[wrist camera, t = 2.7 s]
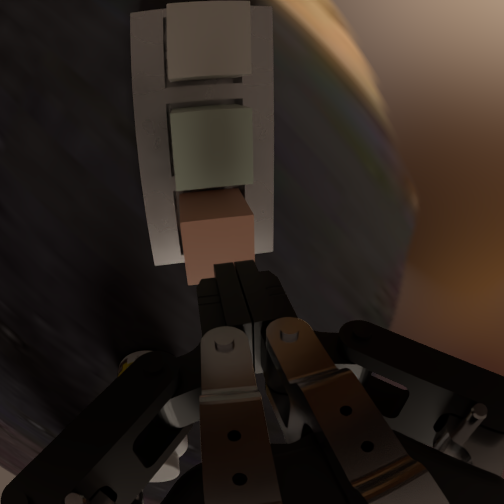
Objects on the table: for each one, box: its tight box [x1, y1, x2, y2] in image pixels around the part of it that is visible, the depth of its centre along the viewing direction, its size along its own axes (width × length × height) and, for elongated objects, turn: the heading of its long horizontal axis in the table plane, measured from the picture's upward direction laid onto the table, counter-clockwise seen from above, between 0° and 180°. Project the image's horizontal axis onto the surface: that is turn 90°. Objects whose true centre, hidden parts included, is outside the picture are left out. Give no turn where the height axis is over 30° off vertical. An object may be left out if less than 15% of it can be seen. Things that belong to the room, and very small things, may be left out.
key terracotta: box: [179, 188, 255, 285], centre depth 16 cm, size 3×3×4 cm
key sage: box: [170, 104, 253, 191], centre depth 14 cm, size 3×3×4 cm
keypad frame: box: [130, 6, 274, 266], centre depth 17 cm, size 7×14×3 cm, turn 1°
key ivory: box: [167, 1, 252, 82], centre depth 12 cm, size 3×3×4 cm
